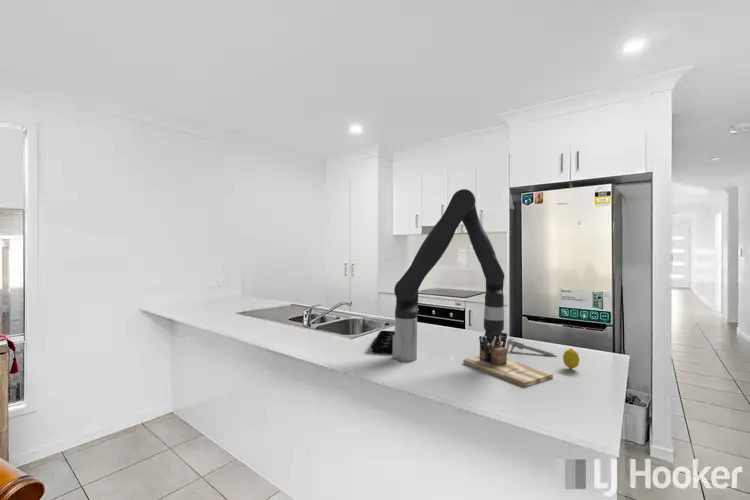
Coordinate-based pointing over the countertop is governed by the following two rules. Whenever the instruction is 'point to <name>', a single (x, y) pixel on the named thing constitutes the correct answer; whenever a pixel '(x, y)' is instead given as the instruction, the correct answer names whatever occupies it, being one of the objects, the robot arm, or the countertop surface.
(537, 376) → the plywood board
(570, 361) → the lemon
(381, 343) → the egg carton
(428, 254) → the robot arm
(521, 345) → the caliper
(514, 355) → the countertop surface
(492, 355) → the block
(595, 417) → the countertop surface
